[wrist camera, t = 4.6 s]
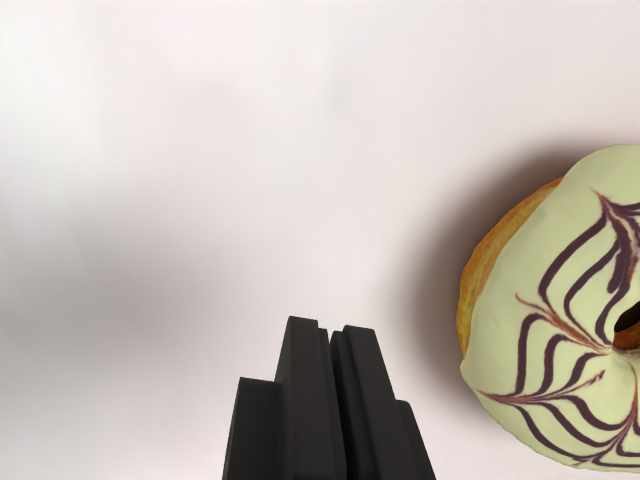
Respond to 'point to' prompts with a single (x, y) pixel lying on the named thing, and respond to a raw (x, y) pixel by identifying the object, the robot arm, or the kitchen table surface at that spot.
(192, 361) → the kitchen table surface
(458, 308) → the decorated donut
